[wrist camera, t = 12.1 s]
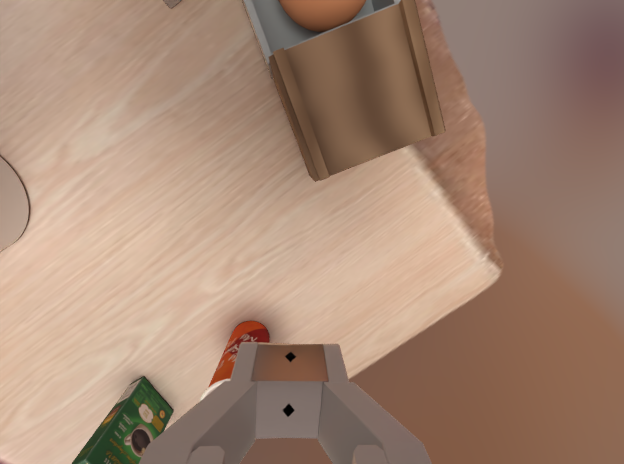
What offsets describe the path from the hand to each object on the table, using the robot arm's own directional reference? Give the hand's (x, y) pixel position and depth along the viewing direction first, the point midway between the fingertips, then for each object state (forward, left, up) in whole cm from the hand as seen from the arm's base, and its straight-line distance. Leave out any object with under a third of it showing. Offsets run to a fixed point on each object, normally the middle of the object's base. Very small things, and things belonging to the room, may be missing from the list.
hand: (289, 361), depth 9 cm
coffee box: (-20, -32, -31) cm, 49 cm away
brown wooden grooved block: (+6, +12, -31) cm, 34 cm away
